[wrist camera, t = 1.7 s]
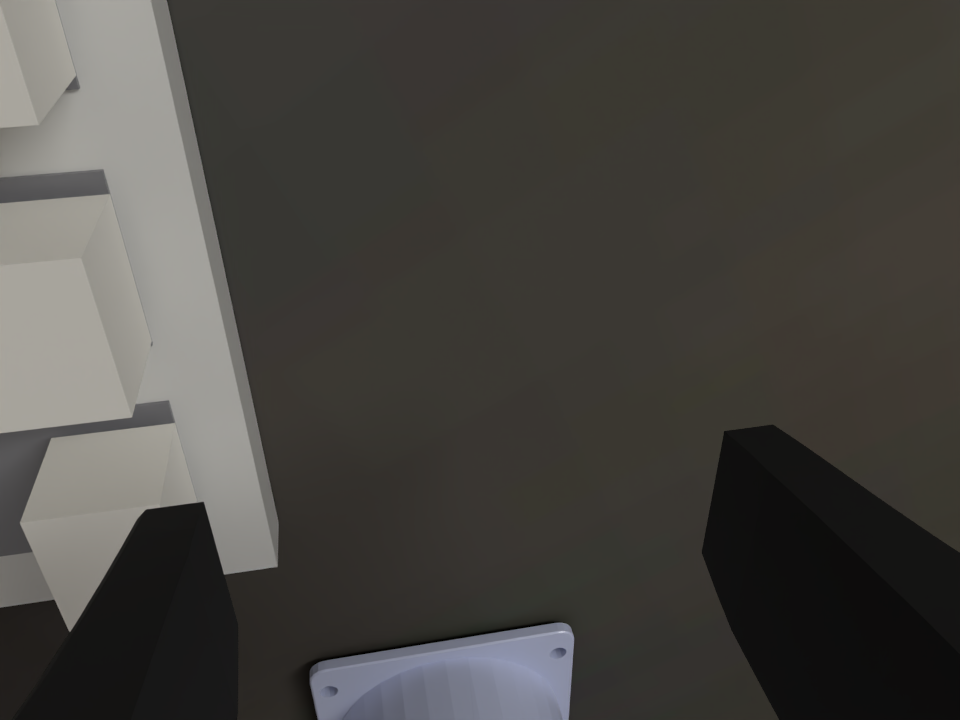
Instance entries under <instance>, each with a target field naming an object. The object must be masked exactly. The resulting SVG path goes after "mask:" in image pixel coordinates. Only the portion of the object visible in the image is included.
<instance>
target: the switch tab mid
mask: <svg viewBox="0 0 960 720" xmlns="http://www.w3.org/2000/svg"><path fill="white" fill-rule="evenodd" d="M151 342H152V340H151V337H150V333H149V329H148V326H147V322H146V319H145V315H144V312H143V308H142V305H141V301H140V298H139V294H138V291H137V287H136V284H135V280H134V277H133V273H132V270H131V266H130V263H129V259H128V256H127V252H126V249H125V245H124V241H123V238H122V234H121V231H120V227H119V224H118V220H117V217H116V213H115V210H114V206H113V203H112V199H111V196H110V194H104V195H93V196H81V197H69V198H58V199H46V200H34V201H22V202H11V203H0V433H7V432H16V431H24V430H32V429H41V428H49V427H57V426H66V425H74V424H82V423H90V422H99V421H107V420H115V419H124V418H132V416H133V412H134V408H135V404H136V401H137V397H138V393H139V389H140V385H141V381H142V377H143V373H144V369H145V365H146V362H147V358H148V354H149V350H150V346H151Z"/></svg>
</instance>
